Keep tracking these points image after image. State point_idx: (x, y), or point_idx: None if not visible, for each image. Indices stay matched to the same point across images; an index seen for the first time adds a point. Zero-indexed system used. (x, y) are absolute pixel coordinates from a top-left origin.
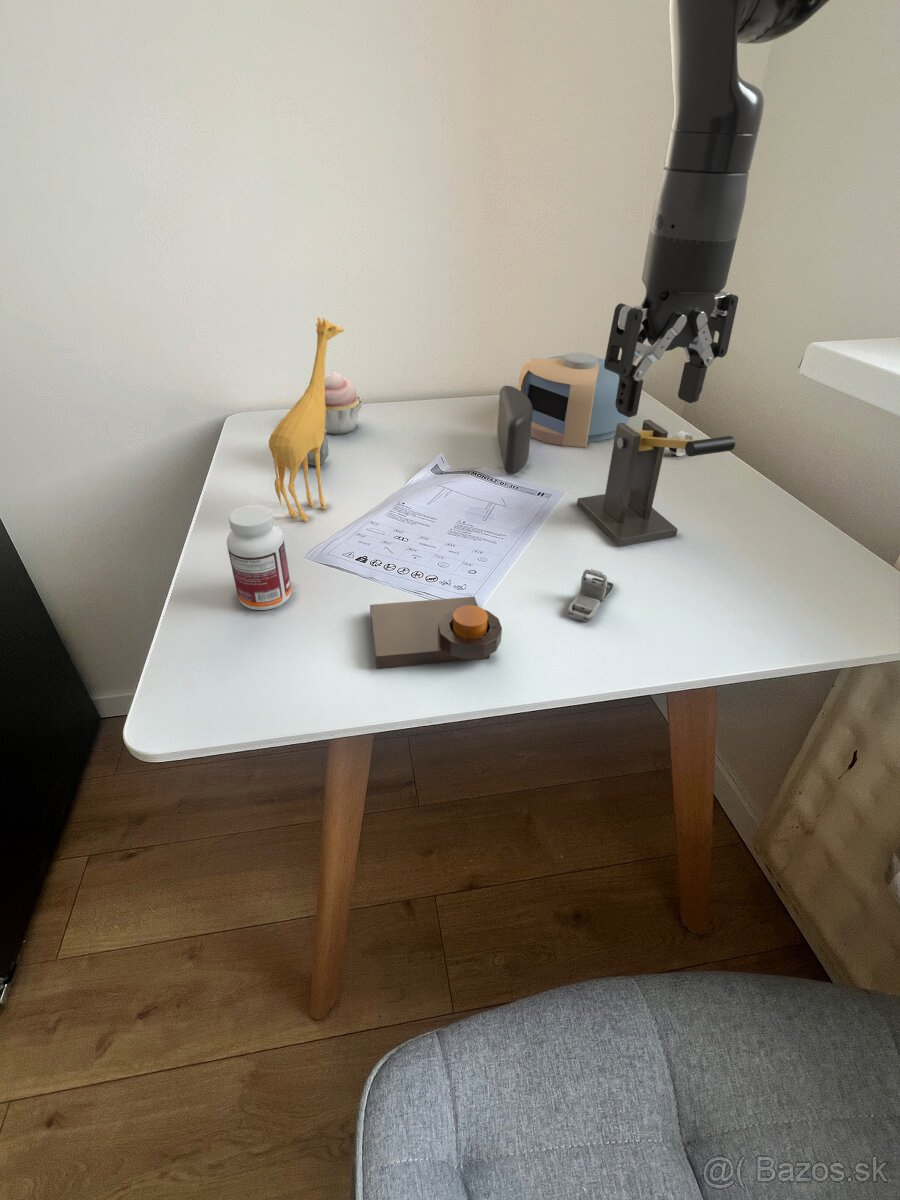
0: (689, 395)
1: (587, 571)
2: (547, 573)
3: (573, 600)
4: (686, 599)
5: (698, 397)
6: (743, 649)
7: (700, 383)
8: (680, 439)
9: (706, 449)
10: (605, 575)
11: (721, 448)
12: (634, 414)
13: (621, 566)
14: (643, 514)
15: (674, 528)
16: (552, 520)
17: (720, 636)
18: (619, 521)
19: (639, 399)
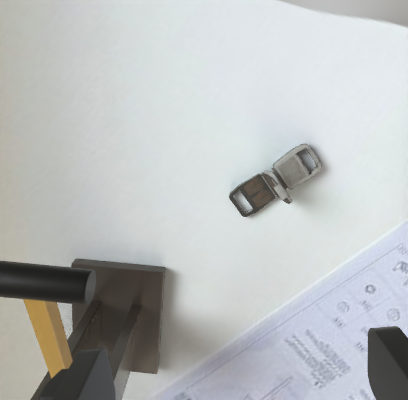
0: (101, 376)
1: (290, 198)
2: (286, 251)
3: (304, 181)
4: (154, 134)
5: (76, 356)
6: (153, 13)
7: (62, 398)
8: (50, 352)
9: (55, 269)
10: (273, 180)
11: (15, 263)
12: (385, 328)
13: (188, 228)
14: (99, 306)
15: (75, 266)
16: (209, 348)
17: (164, 49)
18: (139, 306)
19: (403, 366)
